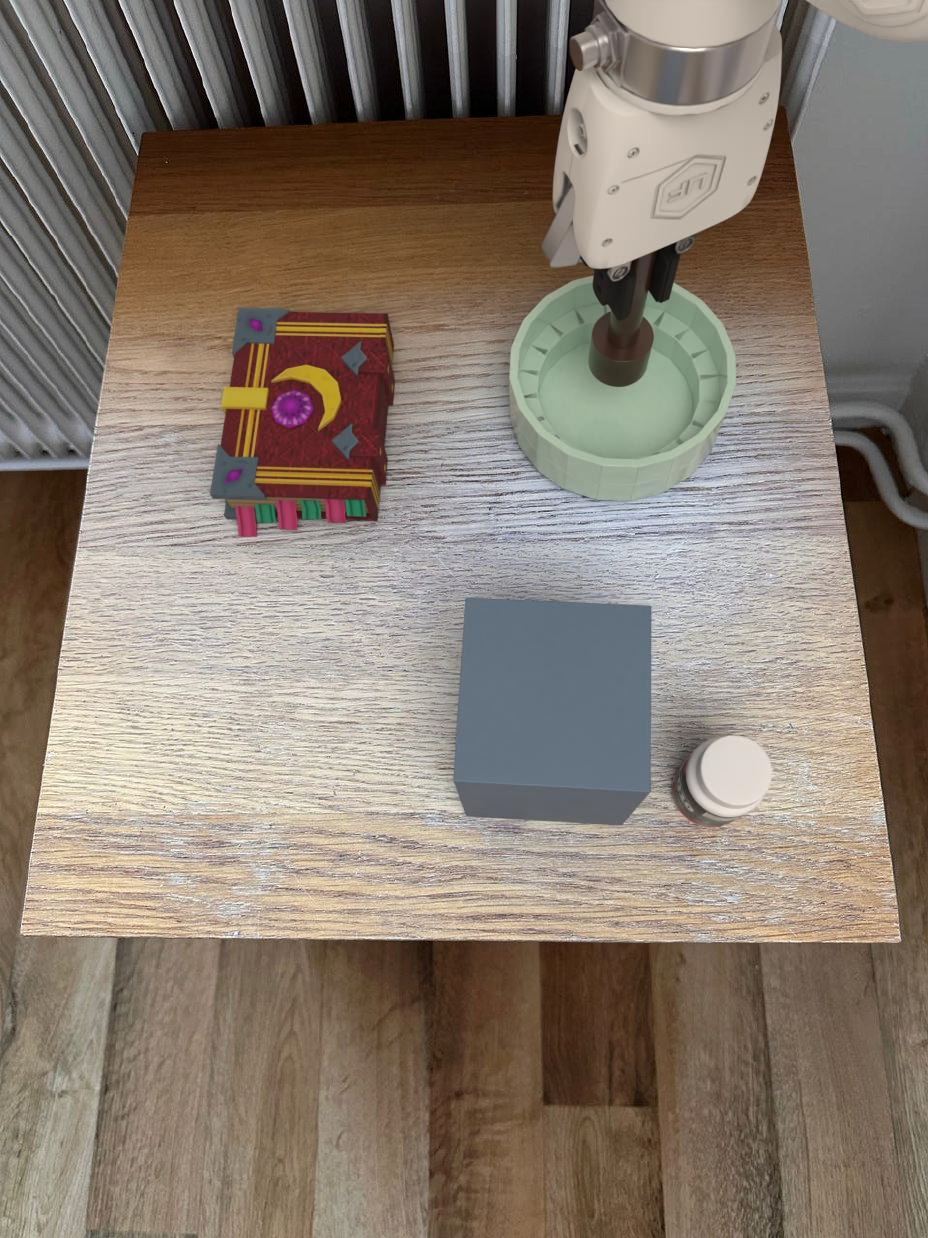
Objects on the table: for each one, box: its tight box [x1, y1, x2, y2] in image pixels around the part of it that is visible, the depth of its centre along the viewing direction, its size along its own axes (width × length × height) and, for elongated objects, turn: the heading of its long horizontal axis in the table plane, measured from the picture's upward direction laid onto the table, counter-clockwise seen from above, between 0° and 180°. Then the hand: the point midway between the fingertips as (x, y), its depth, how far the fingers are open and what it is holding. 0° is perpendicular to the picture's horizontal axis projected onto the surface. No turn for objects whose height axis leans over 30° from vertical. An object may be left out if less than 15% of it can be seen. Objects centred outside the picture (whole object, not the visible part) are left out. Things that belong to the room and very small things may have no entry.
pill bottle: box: [671, 734, 773, 829], centre depth 59 cm, size 5×5×8 cm
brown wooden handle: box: [588, 250, 657, 387], centre depth 60 cm, size 4×4×13 cm
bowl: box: [508, 274, 737, 502], centre depth 69 cm, size 15×15×6 cm
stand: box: [452, 597, 652, 826], centre depth 58 cm, size 10×10×14 cm
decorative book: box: [209, 306, 396, 538], centre depth 70 cm, size 11×16×5 cm
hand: (631, 291), depth 59 cm, fingers closed on brown wooden handle, 2 cm apart
